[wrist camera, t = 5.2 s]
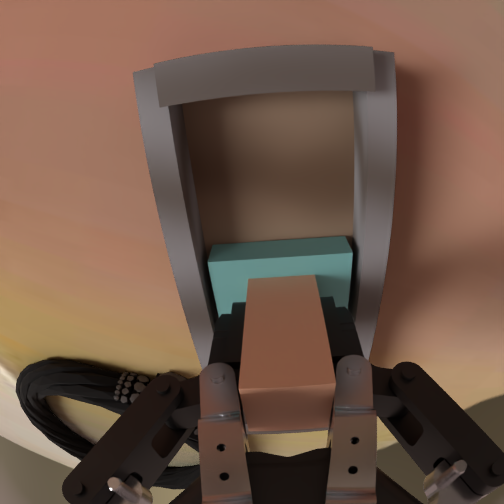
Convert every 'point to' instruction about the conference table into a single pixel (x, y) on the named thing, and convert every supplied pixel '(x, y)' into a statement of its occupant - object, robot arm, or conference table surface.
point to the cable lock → (93, 392)
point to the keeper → (283, 325)
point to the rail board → (272, 163)
